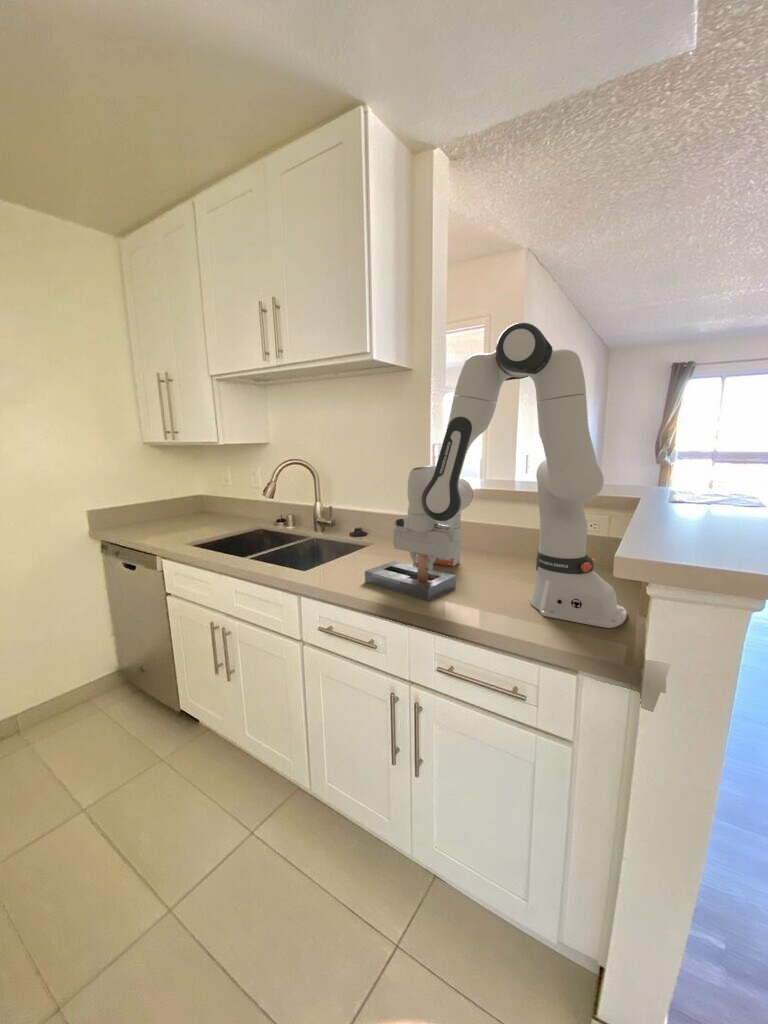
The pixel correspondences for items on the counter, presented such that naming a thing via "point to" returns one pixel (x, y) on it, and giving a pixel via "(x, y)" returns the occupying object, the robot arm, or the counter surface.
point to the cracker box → (455, 525)
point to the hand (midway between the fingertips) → (422, 568)
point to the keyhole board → (410, 580)
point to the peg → (422, 568)
